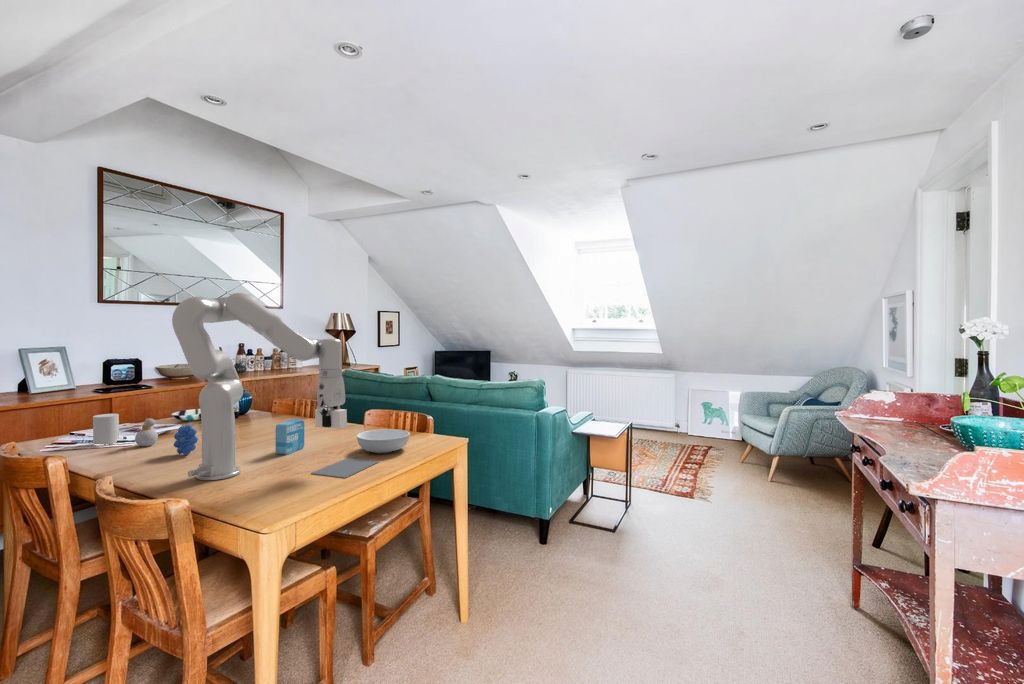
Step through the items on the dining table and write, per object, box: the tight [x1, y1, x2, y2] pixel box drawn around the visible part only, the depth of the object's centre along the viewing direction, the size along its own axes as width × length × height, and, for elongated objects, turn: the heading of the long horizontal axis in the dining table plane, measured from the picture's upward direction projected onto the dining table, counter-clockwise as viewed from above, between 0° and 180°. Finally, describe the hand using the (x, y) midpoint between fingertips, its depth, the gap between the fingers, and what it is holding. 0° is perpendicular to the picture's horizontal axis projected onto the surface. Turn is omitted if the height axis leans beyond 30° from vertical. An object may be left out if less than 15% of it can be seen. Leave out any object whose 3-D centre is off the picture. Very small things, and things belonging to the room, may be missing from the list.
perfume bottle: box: [134, 417, 159, 447], centre depth 192 cm, size 8×10×12 cm
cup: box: [92, 413, 120, 445], centre depth 194 cm, size 8×8×12 cm
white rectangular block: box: [314, 408, 348, 429], centre depth 164 cm, size 4×10×6 cm, turn 75°
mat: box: [310, 457, 381, 479], centre depth 166 cm, size 20×14×1 cm
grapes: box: [173, 424, 199, 456], centre depth 180 cm, size 12×7×12 cm, turn 71°
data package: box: [275, 418, 305, 456], centre depth 186 cm, size 12×4×12 cm, turn 170°
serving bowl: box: [356, 428, 411, 454], centre depth 190 cm, size 21×21×7 cm
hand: (331, 424), depth 164 cm, fingers closed on white rectangular block, 4 cm apart
